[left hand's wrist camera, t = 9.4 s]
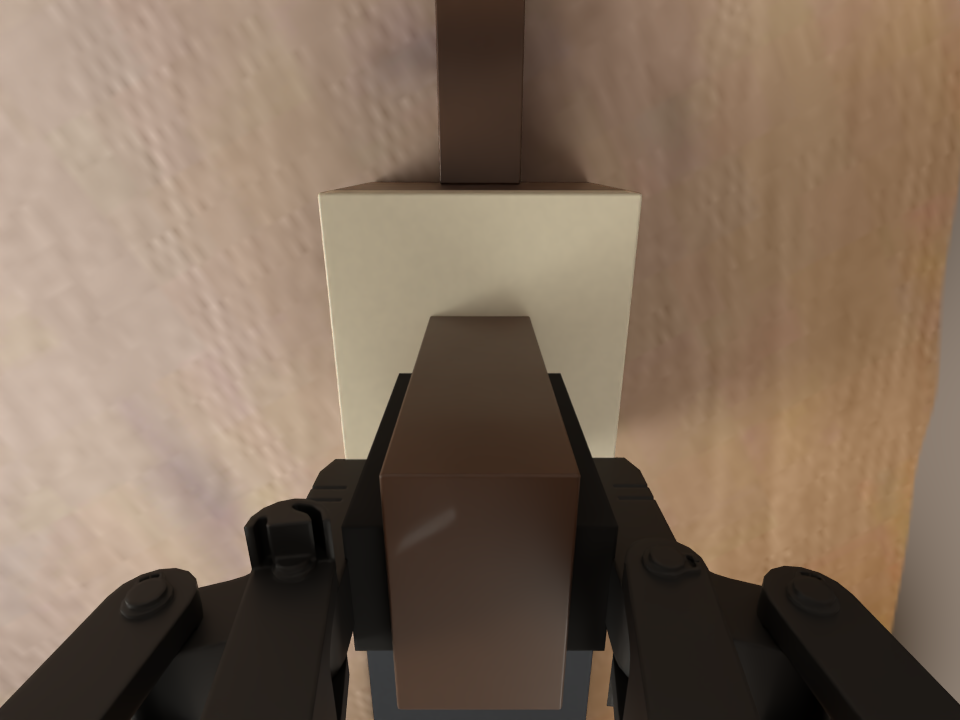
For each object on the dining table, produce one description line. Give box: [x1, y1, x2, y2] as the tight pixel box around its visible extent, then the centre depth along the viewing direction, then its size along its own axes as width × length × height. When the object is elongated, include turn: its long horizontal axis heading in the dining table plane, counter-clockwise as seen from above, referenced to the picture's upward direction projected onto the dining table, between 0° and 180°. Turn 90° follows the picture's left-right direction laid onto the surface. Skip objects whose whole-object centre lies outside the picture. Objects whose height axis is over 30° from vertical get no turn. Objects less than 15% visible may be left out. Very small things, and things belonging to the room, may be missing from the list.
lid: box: [318, 190, 642, 709], centre depth 13 cm, size 12×9×10 cm
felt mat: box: [367, 651, 593, 720], centre depth 30 cm, size 16×13×1 cm
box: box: [336, 0, 623, 190], centre depth 18 cm, size 24×9×7 cm, turn 0°
